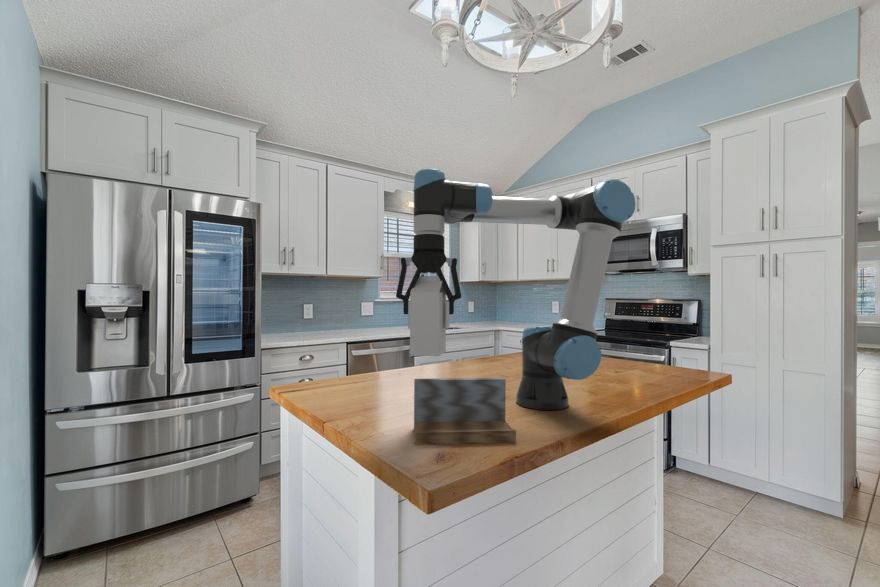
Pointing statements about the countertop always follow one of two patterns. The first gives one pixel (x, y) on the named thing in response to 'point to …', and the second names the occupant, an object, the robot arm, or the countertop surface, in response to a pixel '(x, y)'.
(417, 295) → the milk carton
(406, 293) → the robot arm
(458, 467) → the countertop surface
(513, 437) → the wall board
